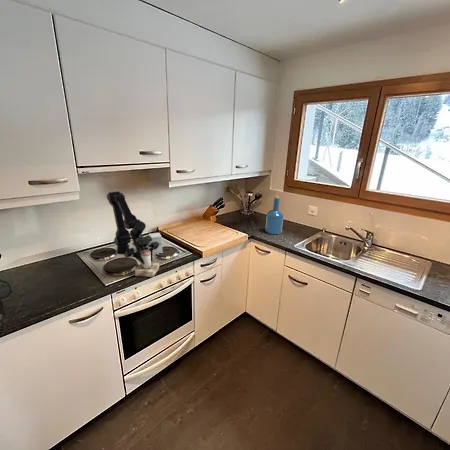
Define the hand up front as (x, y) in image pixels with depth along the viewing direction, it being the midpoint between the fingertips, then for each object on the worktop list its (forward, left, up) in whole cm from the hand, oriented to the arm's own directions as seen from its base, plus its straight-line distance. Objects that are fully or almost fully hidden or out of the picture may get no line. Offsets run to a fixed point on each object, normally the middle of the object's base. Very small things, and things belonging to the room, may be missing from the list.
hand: (148, 262), depth 142 cm
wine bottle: (+76, +78, -7) cm, 109 cm away
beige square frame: (-1, +1, -7) cm, 7 cm away
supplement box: (-5, +26, -7) cm, 27 cm away
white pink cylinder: (-1, +1, -6) cm, 6 cm away
